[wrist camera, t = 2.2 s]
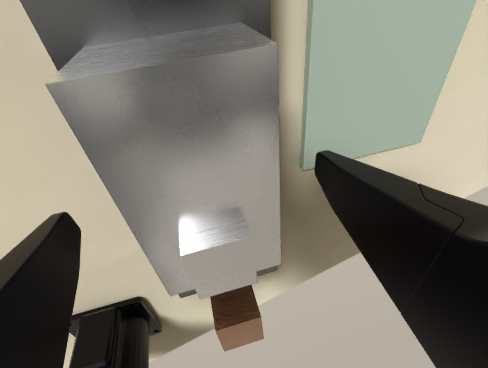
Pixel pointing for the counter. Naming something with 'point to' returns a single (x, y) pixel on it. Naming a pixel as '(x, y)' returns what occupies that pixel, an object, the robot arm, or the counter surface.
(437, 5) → the mat
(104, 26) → the hand plane
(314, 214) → the counter surface
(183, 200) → the lever cap
